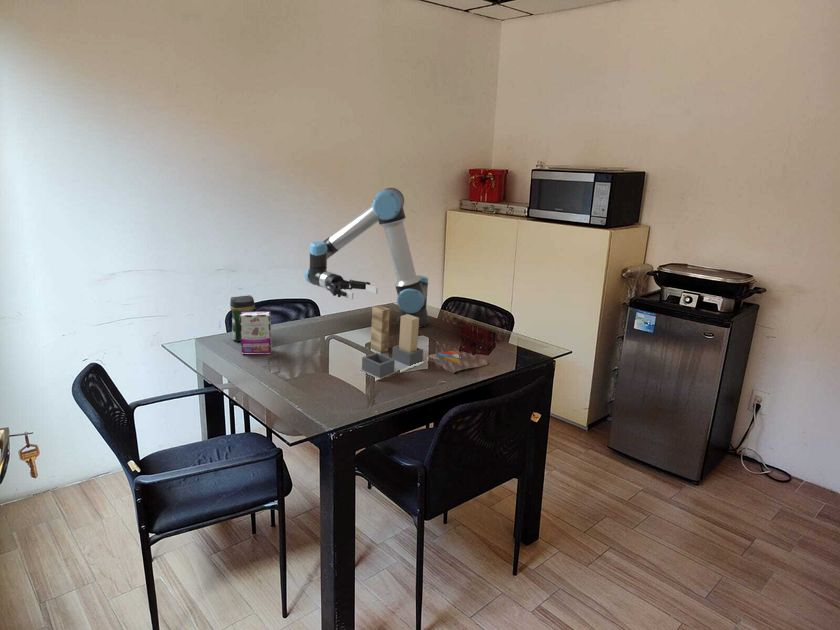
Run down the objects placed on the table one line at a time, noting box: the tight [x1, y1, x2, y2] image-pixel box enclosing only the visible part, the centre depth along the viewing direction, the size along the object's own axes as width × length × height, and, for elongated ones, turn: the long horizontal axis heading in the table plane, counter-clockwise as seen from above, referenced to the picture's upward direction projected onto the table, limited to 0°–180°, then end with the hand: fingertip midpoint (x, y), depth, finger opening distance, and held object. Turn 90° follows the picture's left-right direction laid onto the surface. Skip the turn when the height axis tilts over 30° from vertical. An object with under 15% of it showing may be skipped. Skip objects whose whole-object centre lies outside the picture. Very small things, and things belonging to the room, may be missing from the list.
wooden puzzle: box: [427, 350, 461, 363], centre depth 222 cm, size 18×19×4 cm
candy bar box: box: [240, 311, 272, 354], centre depth 216 cm, size 11×5×16 cm, turn 102°
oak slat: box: [370, 305, 391, 354], centre depth 227 cm, size 4×6×18 cm, turn 48°
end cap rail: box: [359, 314, 424, 378], centre depth 210 cm, size 25×10×19 cm, turn 138°
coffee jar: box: [229, 294, 256, 342], centre depth 229 cm, size 10×8×19 cm
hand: (365, 293), depth 229 cm, fingers open, 13 cm apart
